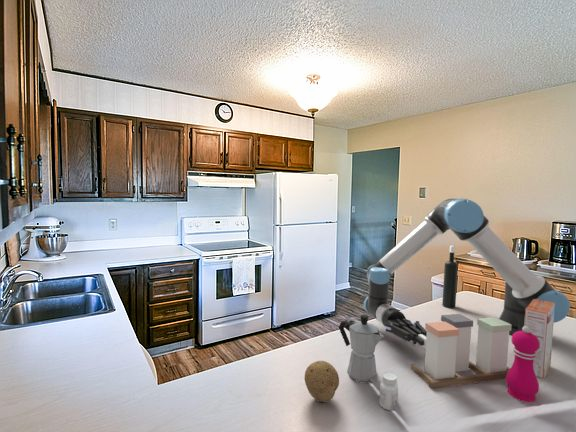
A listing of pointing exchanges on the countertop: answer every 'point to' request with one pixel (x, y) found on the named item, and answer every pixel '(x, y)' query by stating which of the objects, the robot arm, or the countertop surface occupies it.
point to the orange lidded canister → (440, 350)
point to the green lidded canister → (492, 344)
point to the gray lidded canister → (461, 339)
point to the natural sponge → (321, 380)
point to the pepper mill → (523, 366)
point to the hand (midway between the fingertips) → (433, 348)
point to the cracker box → (541, 332)
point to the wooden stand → (460, 377)
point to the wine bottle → (450, 281)
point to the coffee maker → (361, 348)
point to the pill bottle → (388, 391)
